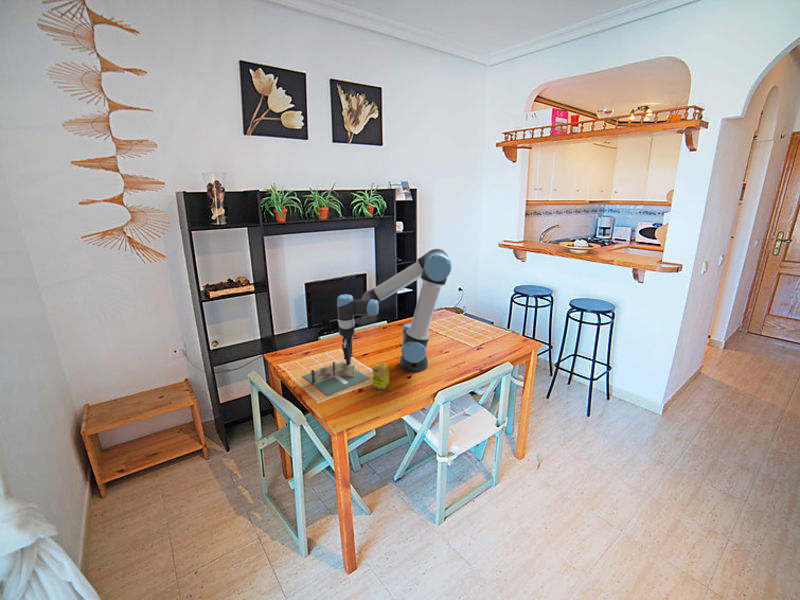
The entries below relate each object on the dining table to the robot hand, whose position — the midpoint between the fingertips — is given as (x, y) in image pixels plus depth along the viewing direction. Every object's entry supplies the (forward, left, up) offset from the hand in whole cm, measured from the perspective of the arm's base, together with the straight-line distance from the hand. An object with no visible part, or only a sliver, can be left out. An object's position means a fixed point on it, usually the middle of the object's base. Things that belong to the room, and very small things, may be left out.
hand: (349, 369), depth 189 cm
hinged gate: (+1, +3, -3) cm, 4 cm away
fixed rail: (+5, +12, -3) cm, 13 cm away
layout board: (+3, +6, -3) cm, 8 cm away
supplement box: (-19, -5, -4) cm, 20 cm away
